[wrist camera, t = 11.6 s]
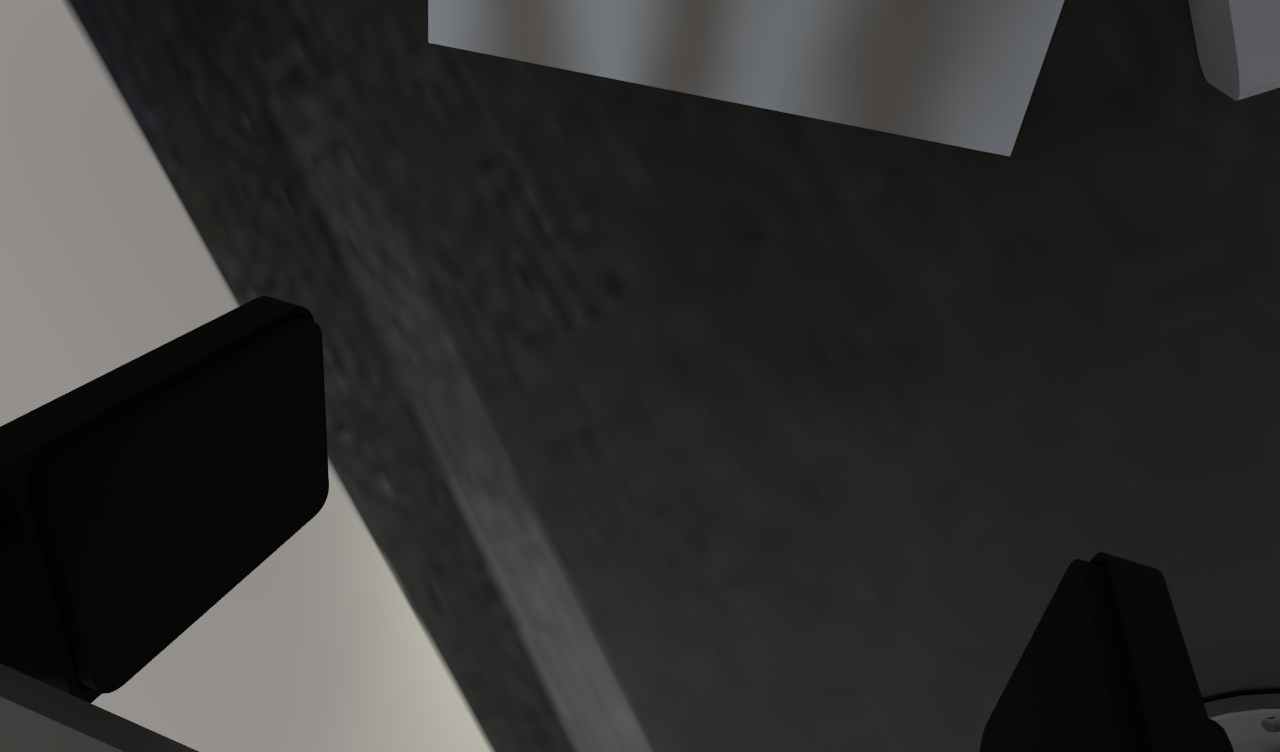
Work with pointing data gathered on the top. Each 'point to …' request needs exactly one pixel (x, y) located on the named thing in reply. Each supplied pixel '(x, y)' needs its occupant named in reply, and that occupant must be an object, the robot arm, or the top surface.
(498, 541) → the top surface
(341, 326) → the top surface
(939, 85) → the plinth
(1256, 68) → the charger
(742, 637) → the top surface
